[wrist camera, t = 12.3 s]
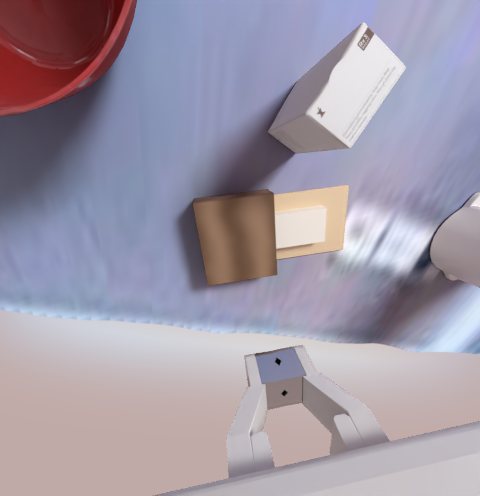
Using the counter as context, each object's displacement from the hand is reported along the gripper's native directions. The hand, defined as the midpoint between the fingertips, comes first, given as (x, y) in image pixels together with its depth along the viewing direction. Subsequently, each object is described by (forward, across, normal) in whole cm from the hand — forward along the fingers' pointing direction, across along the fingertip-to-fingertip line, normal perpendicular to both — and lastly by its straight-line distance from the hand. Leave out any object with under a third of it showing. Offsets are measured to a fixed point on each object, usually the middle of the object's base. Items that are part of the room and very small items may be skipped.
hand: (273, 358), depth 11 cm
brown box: (+29, +1, -4) cm, 29 cm away
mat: (+29, +14, -4) cm, 33 cm away
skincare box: (+29, +12, +13) cm, 34 cm away
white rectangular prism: (+29, +12, -4) cm, 31 cm away
